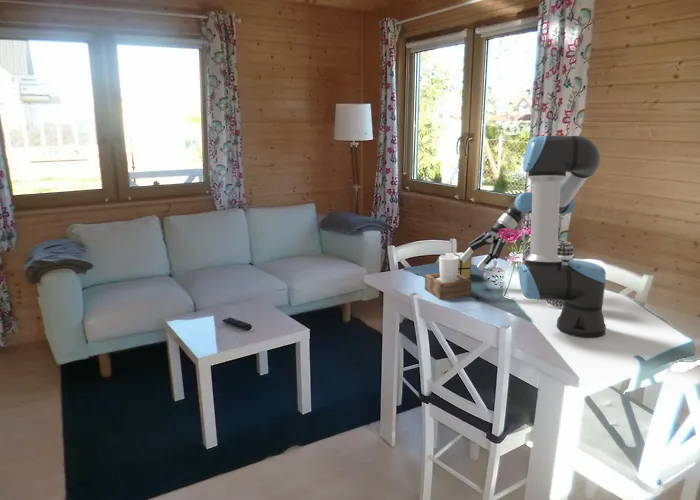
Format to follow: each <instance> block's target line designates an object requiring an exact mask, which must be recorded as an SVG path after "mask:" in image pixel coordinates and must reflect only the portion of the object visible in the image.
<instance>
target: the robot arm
mask: <svg viewBox="0 0 700 500" xmlns="http://www.w3.org/2000/svg"><path fill="white" fill-rule="evenodd" d="M600 163H601V154H600V150H599V148H598V147H597V144H595V143H594V142H593V141H592V140H590V139H589V138H587V137H585V136H582V135H538V136H532V137H531V138H530V139H529V140H528V142H527V144H526V148H525V150H524V155H523V161H522V165H523V166H522V169H523V171H524V173H528V174H527V178H528V179H529V180H530V181H531V182H532V191H531V192H530V191H524V192H521V193H520V194H519V195H517V196H516V197H515V200H513V202H511V204H510V205H509V206H508V208H507V209H506V210H505V211H504V212H503V213H502V214H501V215H500V217H499V218H497V220H496V222H494V223H493V225H492V226H491V227H490V232H488V231H487V230H484V231H483V233H481V234H480V235H478V236H477V237H476V238H474V239H473V240H471V241H470V242H469V243H467V246H468V248H467V250H466V251H464V252H463V253H464V254H463V255H462V256H461V258H460V260H461V261H462V262H463V263H465V261H466V260H467V259H468V258H469V257H471V256H472V254H473V253H474V252H475V250H477V249H480V248H482V247H484V246H485V245H487V246H488V245H490V249H489V253H487V254H486V255H485V256H484V257H483V259H482V260H480V262H479V263H478V264H477V266H476V268H477V269H478V270H479V271H480V272H482V271H483V270H484V269H486V267H487V266H488V265H489V264H490V263H491V261H492V260H495V259H496V260H498V259H499V257H500V256H501V252H502V251H503V248H504V245H505V244H506V243H507V242H505V241H503V238H501V239H499V238H500V237H497V236H499V235H497V232H498V231H499V229H501V228H509V229H513V230H515V229H516V227H517V226H518V225H519V224H520V222H521V221H522V220H523V219H524V218H526V216H527V215H528V214H531V218H530V240H529V241H530V245H529V246H530V247H529V249H530V250H529V254H528V255H527V257H525V258H524V263H522V264H520V265H519V271H518V278H519V285H520V290H521V292H522V294H523V296H524V297H525V299H528V300H537V301H540V300H545V301H546V300H565V303H564V307H563V309H562V310H561V312H560V315H559V317H558V318H557V321H556V328H557V329H558V331H559V332H562V333H564V334H566V335H569V336H573V337H577V338H582V339H584V338H585V339H595V338H597V339H598V338H601V337H603V336H605V334H606V329H607V327H606V326H607V325H606V323H605V318H604V314H603V303H604V295H605V288H606V287H605V286H606V284H607V281H606V274H607V273H606V269H605V268H604V267H603V266H600V265H599V264H596V263H593V262H590V261H585V260H579V259H572V260H570V261H569V262H568V265H567V266H564V265H562V260H561V259H560V258H559V257H558V255H557V251H558V241H559V224H560V223H559V222H560V220H559V219H560V215H564V214H565V215H567V214H571V213H572V212H573V211H574V210H573V209H574V208H575V207H574V206H575V201H574V198H575V196H576V194H578V192H579V190H580V189H581V188H582V187H583V185H584V184H585V182H586V181H587V179H588V178H591V177H592V176H594V174H595V173H596V172H597V170H598V169H599V167H600ZM496 237H497V238H496Z"/></svg>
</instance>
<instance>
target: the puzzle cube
mask: <svg viewBox="0 0 700 500" xmlns="http://www.w3.org/2000/svg"><path fill="white" fill-rule="evenodd" d="M464 253H465V252H448V253H447V252H446V253H445V252H444V253H442V255H455V256H458V257H459V262H458V272H457V273H458V274H460V275H462V276H464V277H466V278H470V279H471V277H472V275H471V274H472V257H471V256H470V257H469V258H468V259H467V260H466V261H465V263H463V262H462V261H461V260H460V258H461V256H462V255H463V254H464Z"/></svg>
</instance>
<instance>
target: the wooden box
mask: <svg viewBox="0 0 700 500" xmlns="http://www.w3.org/2000/svg"><path fill="white" fill-rule="evenodd" d="M472 284H473V283H472V279H471V278H470V279H468V278H466V277H464V276H462V275H460V274H458V273H457V279H456V281H452V282H442V281H440V272H439V273H438V272H437V273H427V274H426V273H425V275H424V290H426V291H427V292H428V293H430V294H431V295H433V296H434V297H436V298H437V299H438V300H445V299H446V300H447V299H448V300H449V299H456V298H465V297H471V296H472Z"/></svg>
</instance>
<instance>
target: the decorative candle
mask: <svg viewBox="0 0 700 500" xmlns="http://www.w3.org/2000/svg"><path fill="white" fill-rule="evenodd" d="M574 248H575V245H573V243H572V242H570V241H568V240H559V239H558V251H557V255H558V257H559V258H560V259H561V260H562V265H564V266H567V265H568V262H569V261H570V260H575V256H574ZM564 303H565V300H545V305H546V306H547V307H549V308H553V309H558V310H559V309H560V310H561V309H563V307H564Z"/></svg>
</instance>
